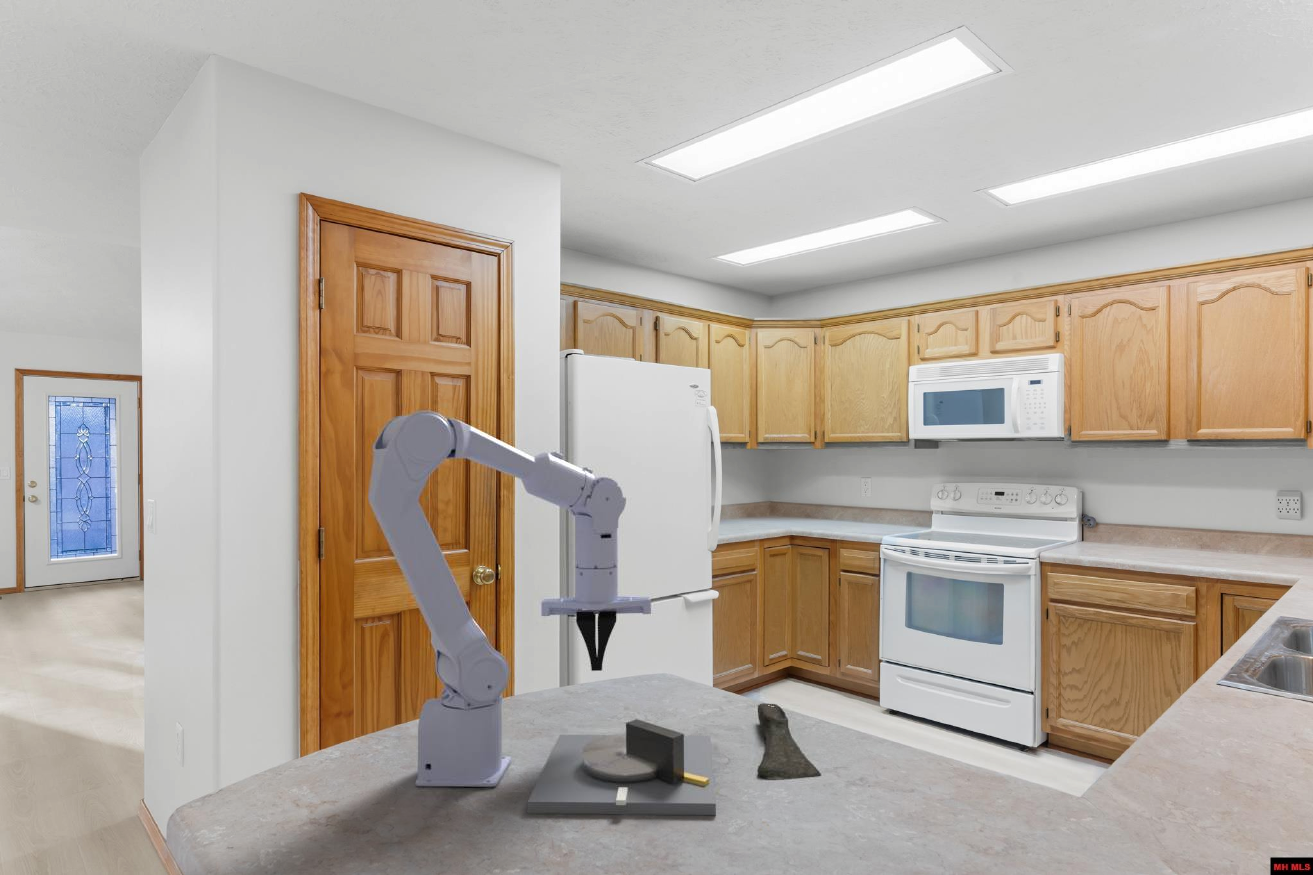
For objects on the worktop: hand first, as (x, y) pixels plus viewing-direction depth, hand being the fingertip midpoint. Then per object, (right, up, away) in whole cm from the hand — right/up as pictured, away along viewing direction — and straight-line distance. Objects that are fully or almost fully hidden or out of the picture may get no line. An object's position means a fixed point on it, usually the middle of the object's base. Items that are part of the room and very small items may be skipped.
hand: (596, 668), depth 100 cm
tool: (+25, -10, -2) cm, 27 cm away
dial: (+6, -8, -11) cm, 15 cm away
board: (+5, -9, -11) cm, 15 cm away
